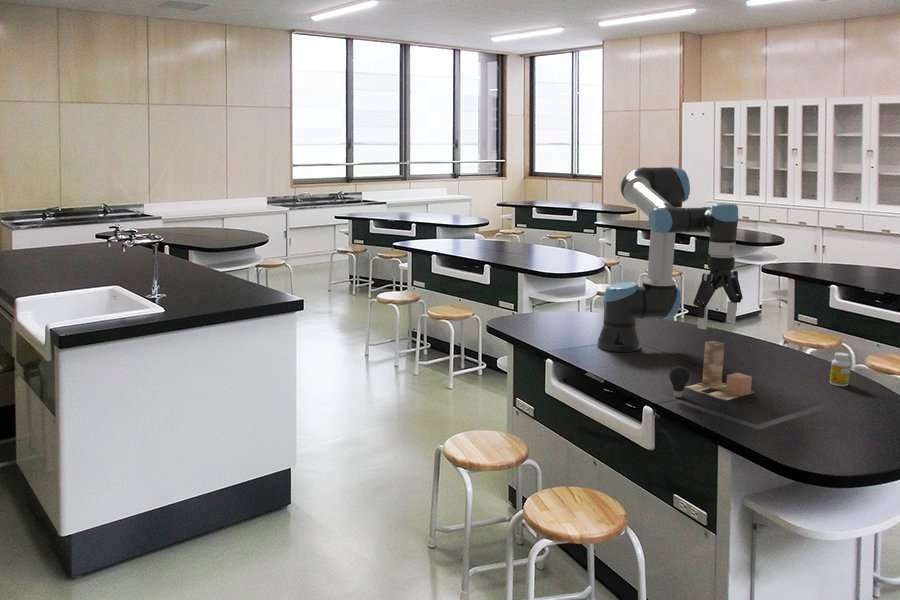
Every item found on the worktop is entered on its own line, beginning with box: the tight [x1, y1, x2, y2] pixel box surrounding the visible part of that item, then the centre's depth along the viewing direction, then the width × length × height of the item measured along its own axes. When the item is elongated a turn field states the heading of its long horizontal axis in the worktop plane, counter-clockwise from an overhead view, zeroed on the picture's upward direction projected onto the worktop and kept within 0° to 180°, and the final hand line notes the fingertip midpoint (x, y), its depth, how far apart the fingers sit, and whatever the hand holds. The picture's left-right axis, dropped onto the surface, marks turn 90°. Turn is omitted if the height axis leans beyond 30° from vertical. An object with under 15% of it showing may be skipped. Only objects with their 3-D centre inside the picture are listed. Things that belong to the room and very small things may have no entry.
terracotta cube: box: [726, 372, 753, 397], centre depth 244 cm, size 5×5×5 cm
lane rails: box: [684, 382, 755, 402], centre depth 246 cm, size 15×14×1 cm
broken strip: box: [686, 383, 738, 401], centre depth 244 cm, size 15×5×1 cm, turn 35°
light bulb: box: [669, 365, 690, 400], centre depth 239 cm, size 6×6×10 cm
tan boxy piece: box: [700, 340, 753, 397], centre depth 246 cm, size 15×5×14 cm, turn 35°
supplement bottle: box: [829, 352, 851, 387], centre depth 256 cm, size 5×5×10 cm
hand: (716, 325), depth 248 cm, fingers open, 13 cm apart
